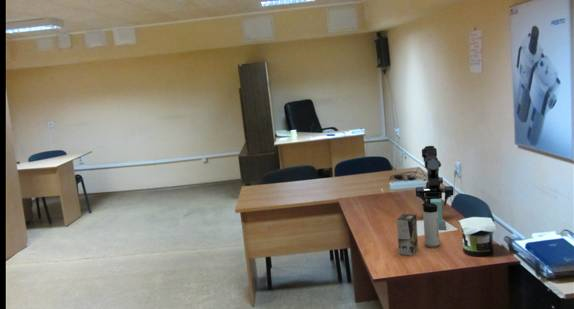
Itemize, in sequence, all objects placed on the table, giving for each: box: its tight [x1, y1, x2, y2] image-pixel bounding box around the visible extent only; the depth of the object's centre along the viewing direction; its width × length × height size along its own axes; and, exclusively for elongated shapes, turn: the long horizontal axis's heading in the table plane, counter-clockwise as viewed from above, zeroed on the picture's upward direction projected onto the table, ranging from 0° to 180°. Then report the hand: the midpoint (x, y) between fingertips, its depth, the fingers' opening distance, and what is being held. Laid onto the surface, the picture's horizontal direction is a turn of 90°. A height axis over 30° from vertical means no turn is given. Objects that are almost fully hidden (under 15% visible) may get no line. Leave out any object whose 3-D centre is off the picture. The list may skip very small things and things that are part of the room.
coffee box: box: [396, 213, 419, 256], centre depth 207 cm, size 9×6×16 cm
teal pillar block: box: [430, 198, 443, 225], centre depth 229 cm, size 5×5×12 cm
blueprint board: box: [416, 219, 459, 237], centre depth 233 cm, size 23×20×1 cm
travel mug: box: [421, 202, 440, 249], centre depth 210 cm, size 6×7×20 cm
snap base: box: [438, 220, 446, 230], centre depth 231 cm, size 8×8×2 cm
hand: (435, 206), depth 236 cm, fingers open, 9 cm apart
